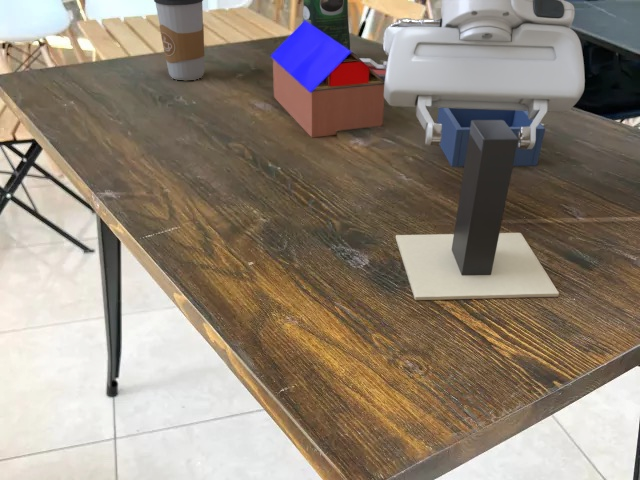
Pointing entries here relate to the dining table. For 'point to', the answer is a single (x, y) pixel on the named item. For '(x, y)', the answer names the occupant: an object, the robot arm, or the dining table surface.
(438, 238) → the mat
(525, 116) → the box
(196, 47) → the coffee cup
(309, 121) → the house
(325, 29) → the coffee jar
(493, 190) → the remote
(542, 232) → the dining table surface
